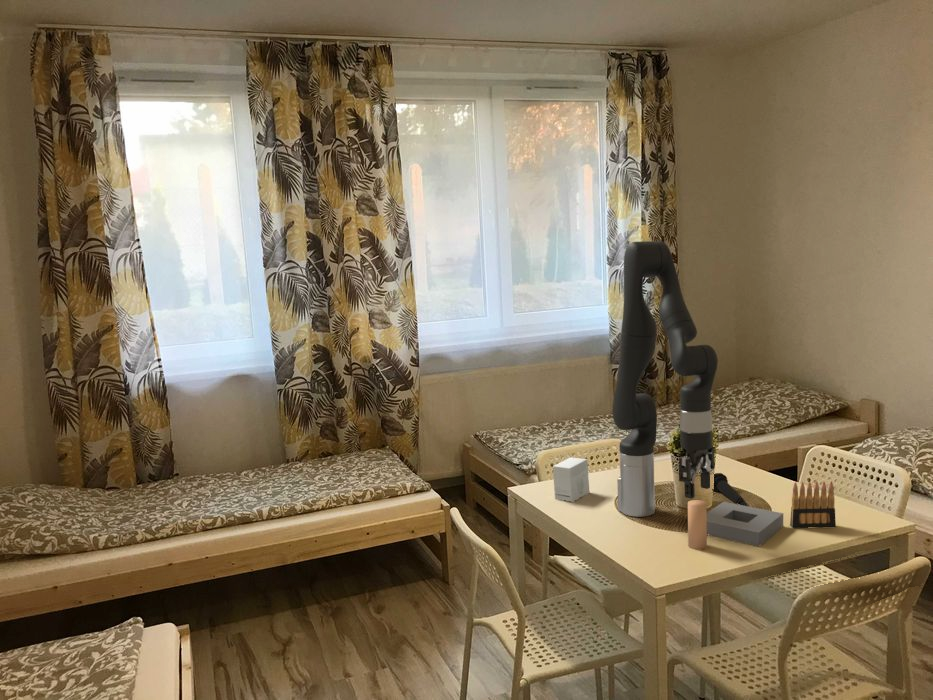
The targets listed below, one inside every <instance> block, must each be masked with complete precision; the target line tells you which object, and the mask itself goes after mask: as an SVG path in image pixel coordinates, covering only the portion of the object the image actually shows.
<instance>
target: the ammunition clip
mask: <svg viewBox="0 0 933 700" xmlns="http://www.w3.org/2000/svg"><path fill="white" fill-rule="evenodd" d="M821 484H822V485H821V489H820V486H819V483H818V481H815V483H814V486H812V483H811V481H809V482H808V483H807V487H805V484H804V482H803V481H801V483H800V486H799V487H800V488H798V484H797V482H796V481H795V482H794V483H793V487H792V496H791V510H790V523H789V526H790V527H791V528H792V529H809V528H808V527H835V528H837V525H836V524H837V523H836V522H837V521H836V508H835V493H834V484H833V481H832V480H831V481H830V482H829V484H828V491H827V485H826V482H825V481H822V483H821ZM805 488H806V489H805ZM820 490H821V491H820Z"/></svg>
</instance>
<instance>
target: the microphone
mask: <svg viewBox="0 0 933 700" xmlns="http://www.w3.org/2000/svg"><path fill="white" fill-rule="evenodd" d="M714 473H715V474H714ZM714 473H713V474H714V490H713V491H714V492H716V491H718V490H719V492H720V493H722V495H723V496H724V497H725V496H727V498H728V499H730V500H731V501H732V502H733V501H734V504H736V503H738V504H740V505H743V506H748V505H747V504H746V502H745V499H744V498H743V497H742V496H741V495H740V494H739V493H738V491H737V490H736V489H734V488H733V486H731V485H730V483H729V480H728V478H727V476H726V474H724V473H722V472H714Z"/></svg>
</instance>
